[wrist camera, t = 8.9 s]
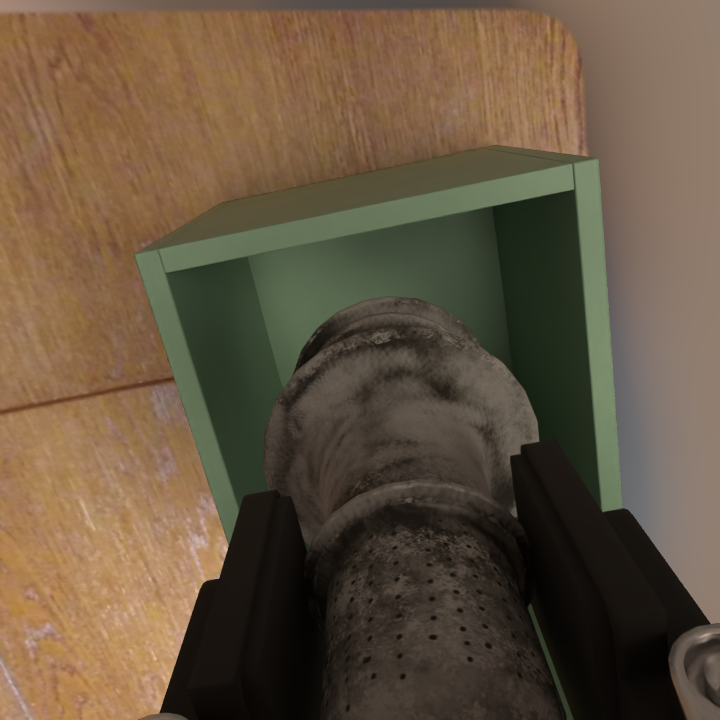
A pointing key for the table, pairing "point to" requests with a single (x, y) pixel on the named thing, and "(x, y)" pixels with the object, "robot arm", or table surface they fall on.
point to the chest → (399, 279)
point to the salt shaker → (412, 517)
